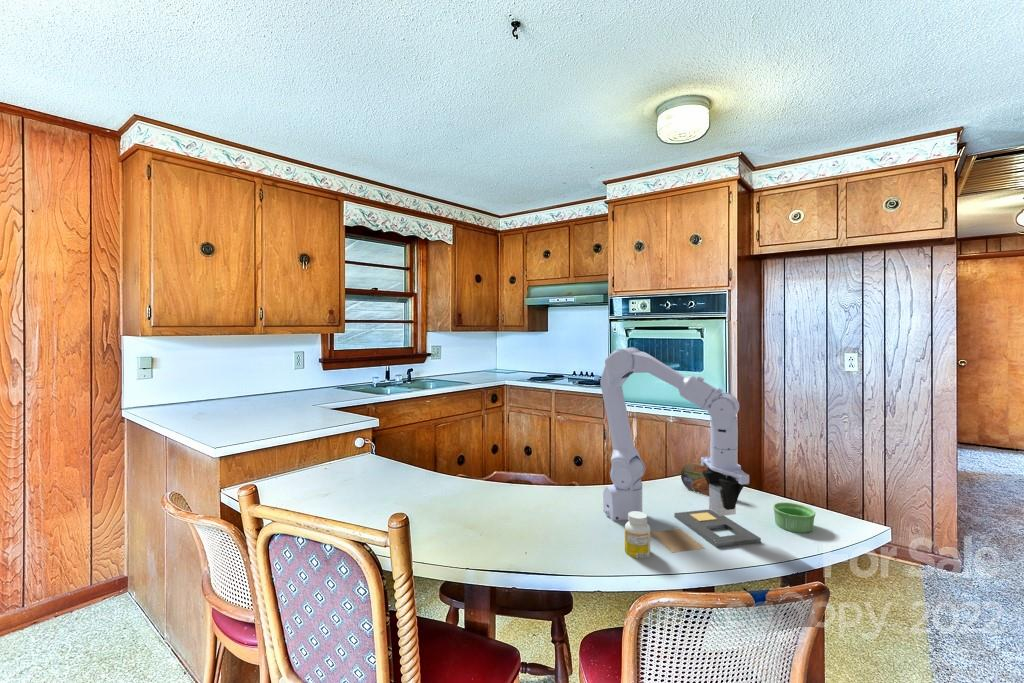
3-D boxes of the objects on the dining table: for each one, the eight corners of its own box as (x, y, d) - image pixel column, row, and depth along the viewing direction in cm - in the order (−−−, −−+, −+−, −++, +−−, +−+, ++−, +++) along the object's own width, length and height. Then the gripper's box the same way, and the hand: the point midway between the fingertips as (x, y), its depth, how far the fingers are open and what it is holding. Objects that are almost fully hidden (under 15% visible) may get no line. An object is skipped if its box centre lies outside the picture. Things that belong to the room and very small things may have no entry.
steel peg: (720, 516, 107) (720, 489, 107) (708, 509, 111) (708, 483, 111) (736, 514, 108) (736, 488, 108) (724, 507, 112) (724, 482, 112)
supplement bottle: (643, 567, 99) (643, 522, 98) (620, 559, 102) (620, 515, 102) (654, 557, 103) (654, 513, 102) (631, 550, 106) (631, 507, 106)
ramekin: (824, 533, 114) (824, 514, 114) (790, 536, 113) (791, 517, 112) (796, 517, 123) (796, 501, 123) (764, 520, 121) (765, 503, 121)
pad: (671, 559, 102) (672, 552, 102) (648, 538, 112) (648, 532, 112) (705, 555, 104) (705, 548, 103) (679, 535, 113) (679, 528, 113)
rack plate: (716, 554, 104) (717, 542, 103) (674, 522, 120) (674, 512, 120) (760, 549, 106) (760, 537, 106) (713, 518, 122) (713, 508, 122)
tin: (680, 488, 145) (680, 460, 145) (685, 485, 147) (685, 458, 147) (730, 501, 134) (730, 472, 134) (734, 498, 136) (735, 469, 136)
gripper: (761, 454, 103) (761, 515, 103) (719, 438, 117) (718, 492, 118) (733, 456, 101) (732, 519, 102) (693, 440, 116) (693, 495, 116)
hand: (723, 505), depth 110 cm, fingers closed on steel peg, 4 cm apart
